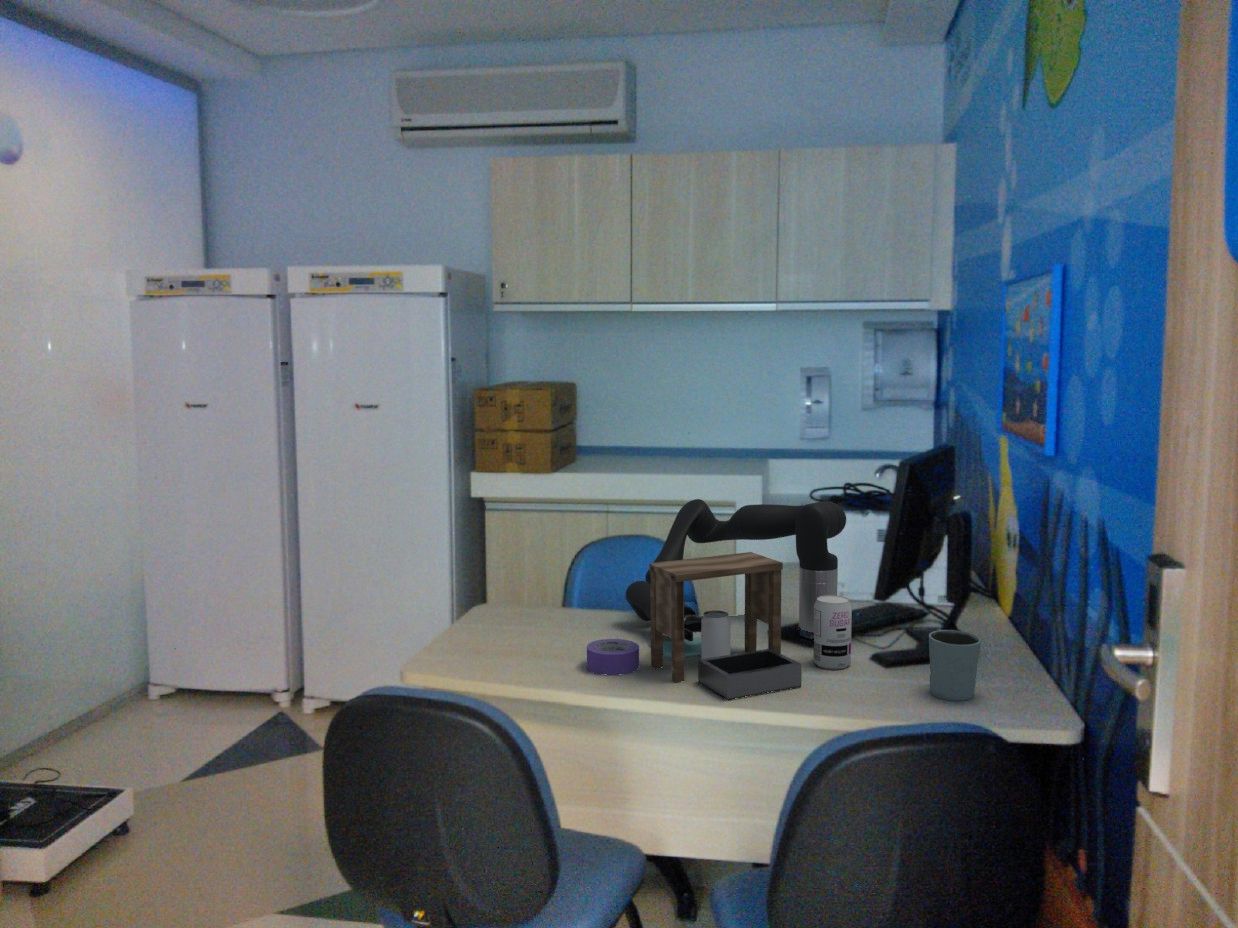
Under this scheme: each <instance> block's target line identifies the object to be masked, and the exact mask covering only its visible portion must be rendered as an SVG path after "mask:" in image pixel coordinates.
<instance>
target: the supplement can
mask: <svg viewBox="0 0 1238 928" xmlns="http://www.w3.org/2000/svg"><path fill="white" fill-rule="evenodd" d="M852 609H853V607H852V604H851V602H850V599H849V598H848V597H846V596H843V595H842V596H841V595H837V596H835V595H827V596H820V597H818V598H817V601H816V602H815V604H814V640H813V662H814V664H815V665H817V667H819V668H822V669H826V670H842V669H846V668H847V667H849V665H851V663H852V662H851V661H852V658H851V657H852V613H853V611H852Z"/></svg>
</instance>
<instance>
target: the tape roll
mask: <svg viewBox="0 0 1238 928" xmlns="http://www.w3.org/2000/svg"><path fill="white" fill-rule="evenodd" d="M637 669H638V670H639V669H640V645H639V644H638V643H637V642H635V641H632V640H628V639H622V638H603V639H597V640H594V641H591V642H589V643H588V644H587V645H586V670H588V671H589V672H590V671H592V672H591V673H593V672H594V673H593V674H596V673H597V674H596V675H600V674H607V675H606V676H620V675H619V674H624V675H629V674H632V673H634V672H633V671H635V672H637V671H638V670H637ZM628 673H629V674H628Z"/></svg>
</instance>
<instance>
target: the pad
mask: <svg viewBox="0 0 1238 928" xmlns="http://www.w3.org/2000/svg"><path fill="white" fill-rule="evenodd" d="M647 645H648V647H649V648H651V643H650V644H647ZM699 656H700V657H701V636H696V637H694V636H693V641H688V640H686V639H684V659H687V658H686V657H688V658H694V657H699ZM663 657H665V658H667V657H668V659H669V658H670V659H669V660H671V661H672V640H668V641H663Z"/></svg>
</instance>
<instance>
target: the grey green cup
mask: <svg viewBox="0 0 1238 928" xmlns="http://www.w3.org/2000/svg"><path fill="white" fill-rule="evenodd" d="M981 644H982V640H981V638H980V637H979V636H978V635H976V634H975V633H970V632H968V631H962V630H953V629H951V630H950V629H939V630H934V631H931V632H930V633H929V634H928V647H929V648H928V651H929V652H928V653H929V654H928V655H929V656H928V657H929V670H930V671H929V672H930V674H929V691H930V694H931V695H932V696H934V697H936V698H939V699H942V700H947V701H954V702H956V701H957V702H959V701H968V700H972V699H973V698H974V697H975V691H976V683H977V681H976V679H977V674H978V673H977V672H978V663H979V659H980V657H979V656H980V652H981V646H982V645H981Z"/></svg>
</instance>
